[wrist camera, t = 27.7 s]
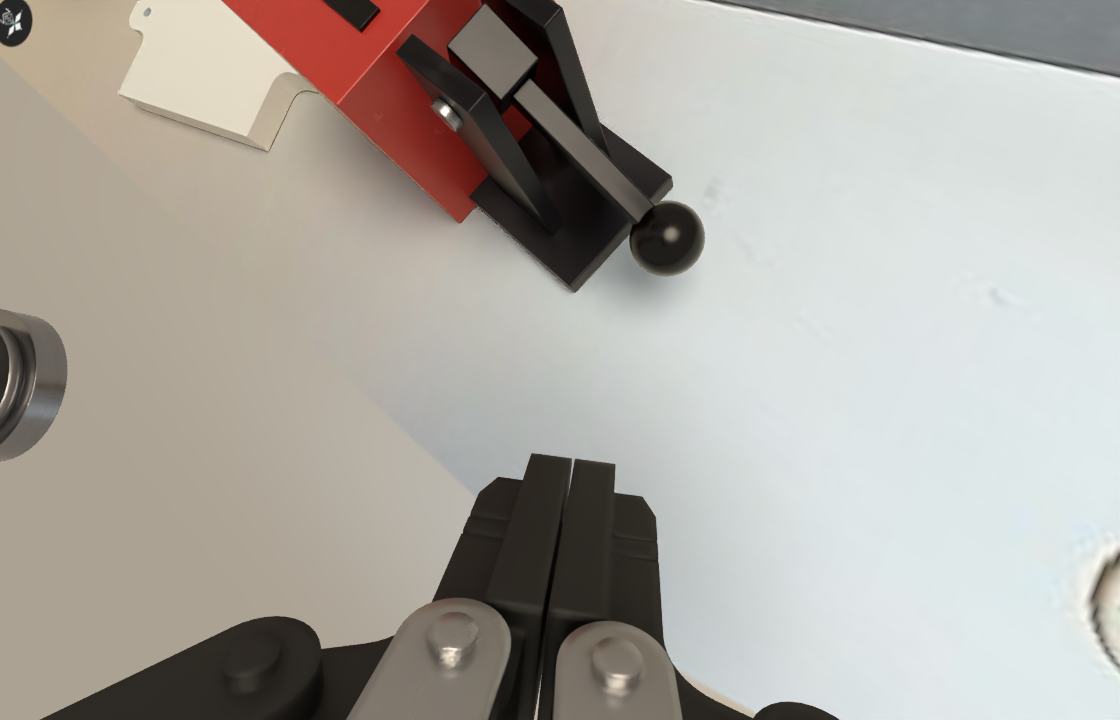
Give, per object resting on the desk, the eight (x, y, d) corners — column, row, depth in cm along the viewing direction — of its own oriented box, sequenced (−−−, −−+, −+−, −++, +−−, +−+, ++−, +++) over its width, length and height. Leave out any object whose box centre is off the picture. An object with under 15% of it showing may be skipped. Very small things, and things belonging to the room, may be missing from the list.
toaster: (584, 86, 34) (518, -109, 22) (460, 224, 34) (332, 102, 23) (475, 7, 37) (368, -202, 25) (363, 134, 38) (207, -13, 26)
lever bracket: (673, 186, 32) (650, 11, 19) (575, 293, 32) (491, 188, 20) (549, 92, 35) (461, -110, 22) (461, 191, 35) (326, 45, 23)
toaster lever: (704, 239, 26) (732, 235, 23) (656, 290, 27) (678, 293, 23) (494, 21, 24) (494, -15, 21) (443, 79, 24) (435, 51, 21)
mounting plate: (374, -8, 39) (358, -31, 38) (295, 160, 39) (274, 145, 37) (193, -46, 45) (171, -68, 43) (120, 101, 44) (95, 86, 42)
